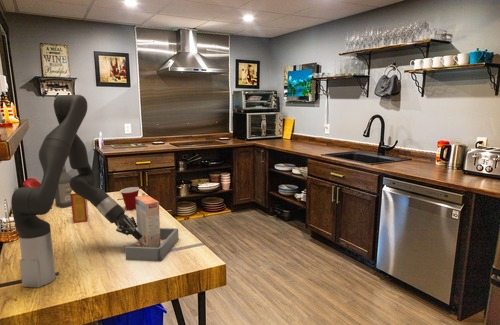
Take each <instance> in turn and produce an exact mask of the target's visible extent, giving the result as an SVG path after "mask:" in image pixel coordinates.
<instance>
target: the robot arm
mask: <svg viewBox="0 0 500 325" xmlns="http://www.w3.org/2000/svg"><path fill="white" fill-rule="evenodd" d="M53 109H54V113H55V117H56V120H57V122H58V123H57V124H58V125H57V126H56V127H55V128H53V129H52V130H51V131H49V132H48V134H46V136H45V137H44V139H43V141H42V144H41V146H40V147H39V150H38V159H39V163H40V166H41V168H42V170H43V171H42V172H43V176H42V181H41V182H40V184H39V186H36V187H35V186H29V187H28V186H24V187H23V186H22V187H19V188H16V189H15V190H14V191H13V193H12V196H11V201H10V202H11V204H10V205H11V211H12V216H13V222H14V227H15V229H16V231H17V234H18V240H19V248H20V257H21V259H20V260H19V267H20V268H19V269H20V276H21V283H22V287H24V288H26V287H27V288H42V287H43V286H45V285H48V284H50V283H51V282H53V281H55V279H56V269H55V258H54V249H53V240H52V230H51V224H50V223H49V222H48V221H45V220H44V219H41V218H40V217H39V216H42V215H43V216H45V215H47V214H48V213H49V212H50V210H51V209H52V207H53V205H54V202H55V195H56V191H57V187H58V183H59V179H60V176H61V173H62V170H63V167H64V165H65V166H66V161H67V160H68V162H69V166H70V168H71V169H72V170H76V171H77V173H78V175H77V174H76V175H74V176H72V178H71V180H70V183H69V184H70V187H71V189H72V190H73V191H74V192H75V193H76V194H78V195H79V196H81V197H83V198H84V199H86V200H87V202H90V203H91V204H92V205H93V207H95V208H96V209H97V210H98V211H97V212H99V213H100V214H101V215H102V216H103V217H104V218H105V220H107V221H108V222H109V223H110V224H115V226H116V229H115V231H116V232H118V233H121V234H123V235H126V236H129V235H131V236H132V237H133V238H134V239H136V241H138V240H139V239H140V238H141V237H142V235H141V234H140V233H139V232H138V231H137V221H136V219H135V217H134V216H130V217H129V216H128V215H127V214H125V213H126V210H125V209H124V208H123V207H122V206H121V205H120V204H119V203H118V202H117V201H116V200H115V199H114V198H112V197H111V196H110V195H109V194H108V193H107V192H106V191H105V190H104V189H103V188H100V187H99V188H96V187H94V186H95V183H96V177H95V174H94V171H93V169H92V167H91V165H90V163H89V156H88V150H87V148H86V145H85V143H84V141H83V140H82V139H81V138H80V136H79V135H78V131H79V129H80V127H81V125H82V123H83V121H84V120H85V117H86V114H87V113H88V101H87V99H86V97H85V96H83V95H81V94H65V95H64V94H63V95H58V96H55V98H54V101H53Z"/></svg>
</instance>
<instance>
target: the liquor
mask: <svg viewBox="0 0 500 325" xmlns="http://www.w3.org/2000/svg"><path fill="white" fill-rule="evenodd" d="M71 178H73V176H72V175H70V174H69V173H68V172H67V170H66V164H65V165H64V167H63V170H62V173H61V176H60V179H59V183H58V187H57V191H56V195H55V199H54V202H55V206H56V207H58V208H62V209H63V208H68V207H72V204H71V192H72V189H71V187H70V184H69V183H70V180H71Z"/></svg>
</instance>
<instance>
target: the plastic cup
mask: <svg viewBox="0 0 500 325" xmlns="http://www.w3.org/2000/svg"><path fill="white" fill-rule="evenodd" d="M139 191H140V187H139V186H137V187H136V186H135V187H134V186H133V187H132V186H131V187H125V188H123V189H121V190H119V192H120V194H121V196H122V198H123V203H124V205H125V206H124V207H125V209H127V210H126V211H135V210H136V198H135V197H137V196H139ZM134 209H135V210H134Z"/></svg>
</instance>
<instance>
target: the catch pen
mask: <svg viewBox="0 0 500 325" xmlns="http://www.w3.org/2000/svg"><path fill="white" fill-rule="evenodd" d="M160 240H164V241H162V243H161V245H160V246H159V247H158V248H153V247H143V246H128V245H127V246H125V247H124V252H125V254H124V255H125V260H127V261H129V260H130V261H148V262H152V261H153V262H161V261H162V260H163V259H164V258H165V257H166V255H167V254H168V253H169V251H170V250H171V249H172V248H173V246H174V245H175V244H176V243H177V241H178V240H179V228H173V227H172V228H170V227H169V228H167V227H160Z"/></svg>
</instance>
